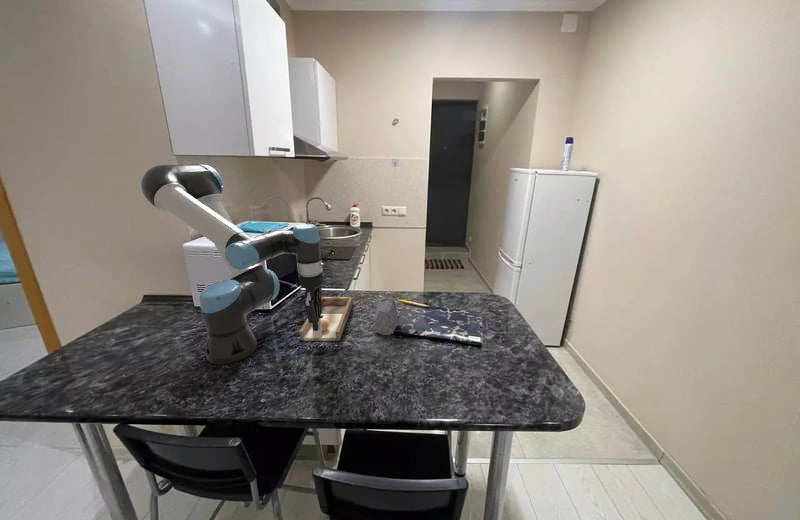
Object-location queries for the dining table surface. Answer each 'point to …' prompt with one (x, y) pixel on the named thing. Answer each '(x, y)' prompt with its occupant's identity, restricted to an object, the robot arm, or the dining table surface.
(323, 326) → the ball
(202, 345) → the dining table surface
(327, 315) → the tray
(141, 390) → the dining table surface
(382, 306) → the stone
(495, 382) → the dining table surface
